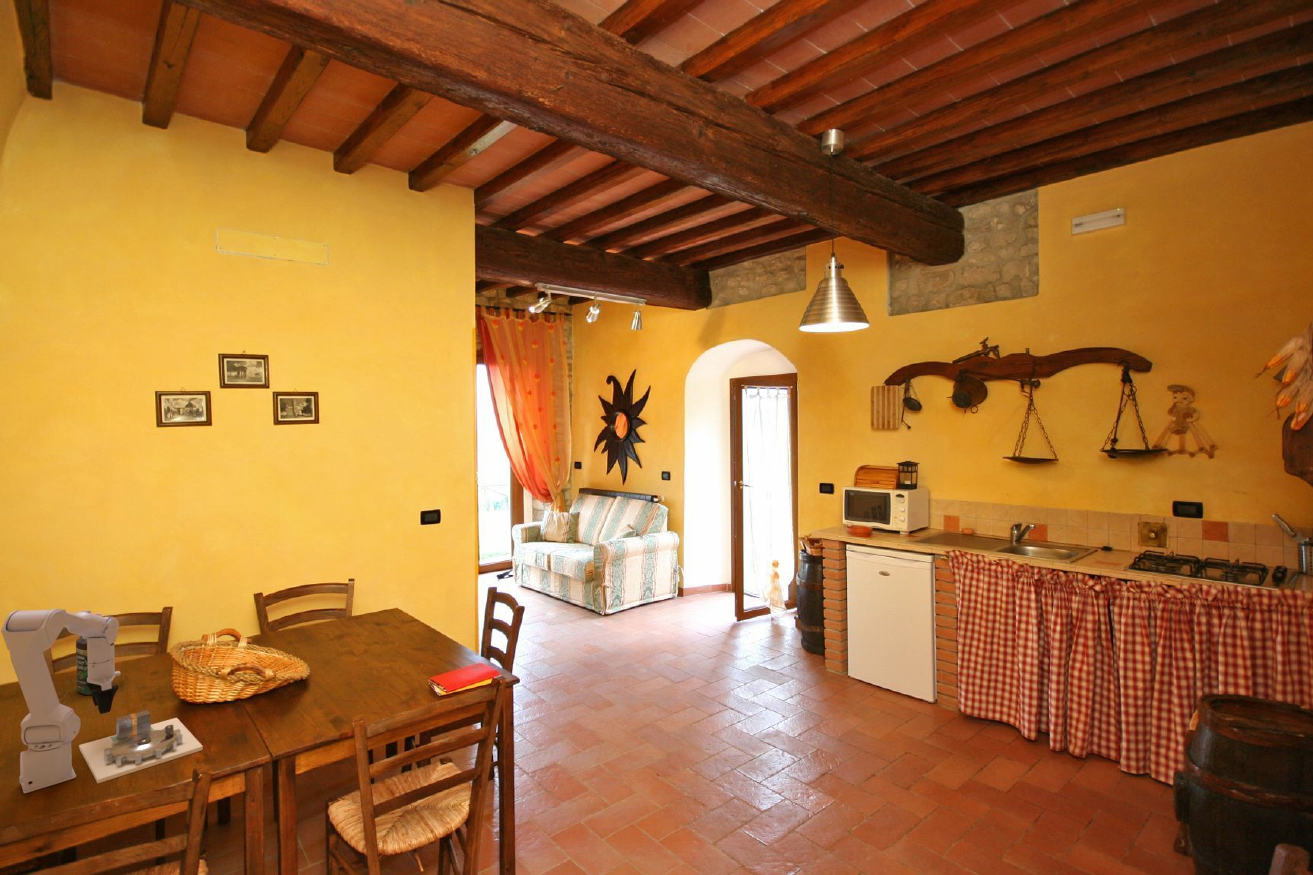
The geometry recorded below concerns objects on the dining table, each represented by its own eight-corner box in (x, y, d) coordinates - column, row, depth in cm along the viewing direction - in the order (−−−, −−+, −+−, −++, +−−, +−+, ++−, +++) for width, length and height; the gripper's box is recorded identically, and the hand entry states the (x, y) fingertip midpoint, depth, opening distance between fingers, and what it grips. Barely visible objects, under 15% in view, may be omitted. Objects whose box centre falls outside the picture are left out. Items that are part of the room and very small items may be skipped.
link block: (119, 740, 181) (118, 721, 181) (116, 736, 183) (116, 718, 183) (150, 731, 186) (150, 713, 186) (147, 727, 188) (147, 709, 188)
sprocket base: (97, 783, 162) (97, 778, 162) (79, 748, 179) (79, 744, 179) (202, 749, 178) (202, 745, 178) (176, 720, 195) (176, 716, 195)
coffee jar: (72, 691, 216) (71, 636, 215) (101, 683, 223) (100, 629, 222) (87, 697, 211) (85, 640, 211) (116, 688, 218) (115, 633, 218)
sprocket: (86, 765, 167) (85, 746, 167) (138, 734, 184) (138, 716, 184) (150, 765, 167) (150, 746, 167) (197, 734, 184) (196, 717, 184)
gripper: (125, 662, 180) (126, 711, 180) (114, 650, 190) (115, 696, 190) (91, 669, 175) (92, 720, 175) (82, 656, 184) (83, 704, 185)
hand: (102, 708), depth 182 cm, fingers open, 7 cm apart
